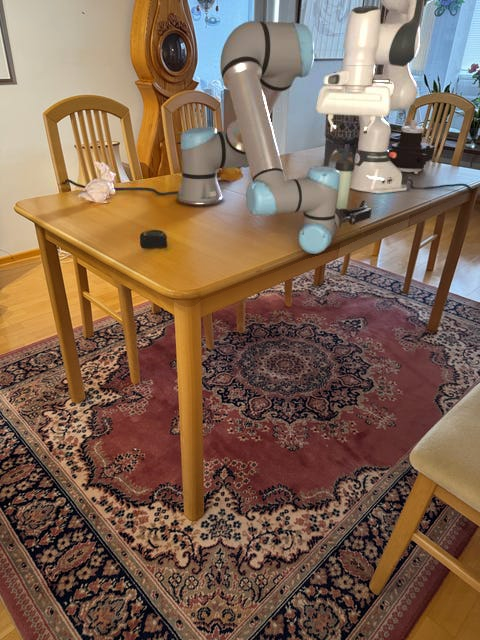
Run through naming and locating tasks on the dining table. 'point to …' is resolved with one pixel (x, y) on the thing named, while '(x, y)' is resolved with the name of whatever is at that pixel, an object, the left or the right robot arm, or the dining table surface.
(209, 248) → the dining table surface
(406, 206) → the dining table surface
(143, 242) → the tape measure
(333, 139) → the planter
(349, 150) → the rock
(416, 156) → the mechanical component
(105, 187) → the figurine
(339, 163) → the lid
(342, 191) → the pale green cylinder
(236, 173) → the toy
